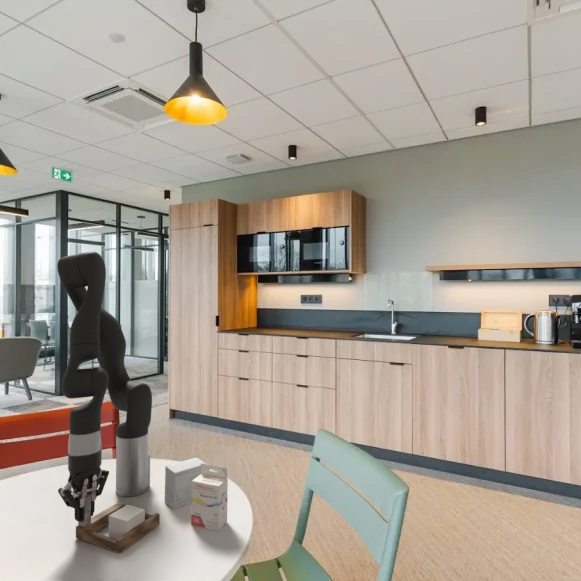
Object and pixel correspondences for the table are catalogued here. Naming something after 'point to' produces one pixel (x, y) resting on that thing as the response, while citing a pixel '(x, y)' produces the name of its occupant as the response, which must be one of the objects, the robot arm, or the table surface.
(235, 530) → the table surface
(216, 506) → the ink cartridge box
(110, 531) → the white cube
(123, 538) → the pull frame
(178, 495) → the skincare box
